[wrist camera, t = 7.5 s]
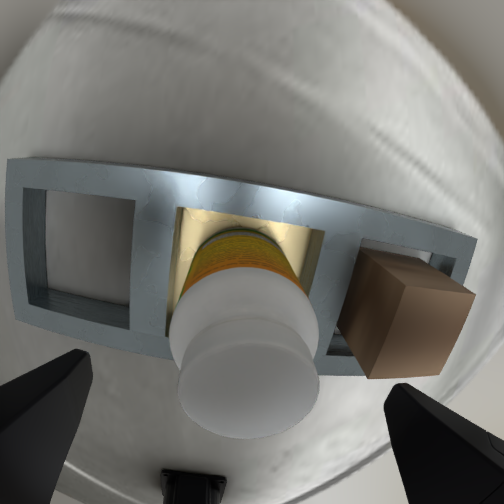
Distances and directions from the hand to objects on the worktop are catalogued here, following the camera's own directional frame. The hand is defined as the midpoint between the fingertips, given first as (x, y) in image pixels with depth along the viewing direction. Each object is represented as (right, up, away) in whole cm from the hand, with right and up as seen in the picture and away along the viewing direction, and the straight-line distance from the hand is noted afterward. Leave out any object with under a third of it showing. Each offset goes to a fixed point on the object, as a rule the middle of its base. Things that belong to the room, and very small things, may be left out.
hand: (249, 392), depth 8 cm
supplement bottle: (-1, +3, +9) cm, 10 cm away
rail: (-1, +3, +10) cm, 10 cm away
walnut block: (+8, +1, +11) cm, 14 cm away
